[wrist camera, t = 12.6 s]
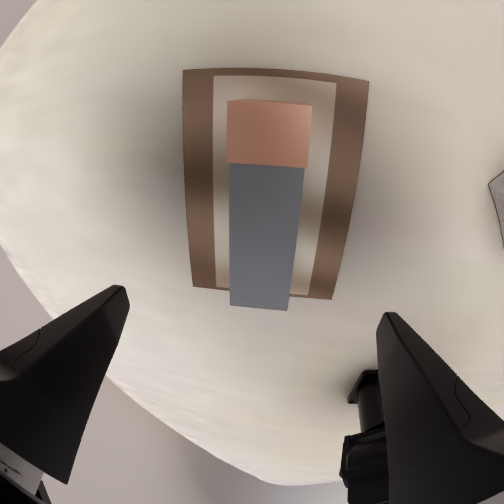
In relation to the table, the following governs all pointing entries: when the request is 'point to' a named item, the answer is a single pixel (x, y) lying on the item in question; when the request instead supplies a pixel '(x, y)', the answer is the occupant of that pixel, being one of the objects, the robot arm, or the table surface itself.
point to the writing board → (315, 176)
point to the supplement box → (499, 198)
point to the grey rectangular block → (265, 197)
